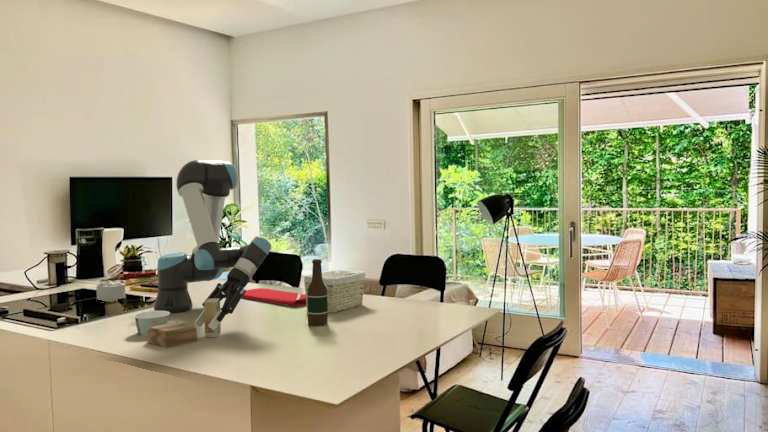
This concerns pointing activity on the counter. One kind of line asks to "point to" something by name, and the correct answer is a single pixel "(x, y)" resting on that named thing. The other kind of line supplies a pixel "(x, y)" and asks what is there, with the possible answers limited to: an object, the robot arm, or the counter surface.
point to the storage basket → (341, 288)
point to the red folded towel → (275, 297)
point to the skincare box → (211, 316)
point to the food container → (150, 320)
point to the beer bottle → (317, 297)
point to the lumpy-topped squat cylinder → (110, 290)
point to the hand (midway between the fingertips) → (204, 326)
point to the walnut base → (172, 334)
